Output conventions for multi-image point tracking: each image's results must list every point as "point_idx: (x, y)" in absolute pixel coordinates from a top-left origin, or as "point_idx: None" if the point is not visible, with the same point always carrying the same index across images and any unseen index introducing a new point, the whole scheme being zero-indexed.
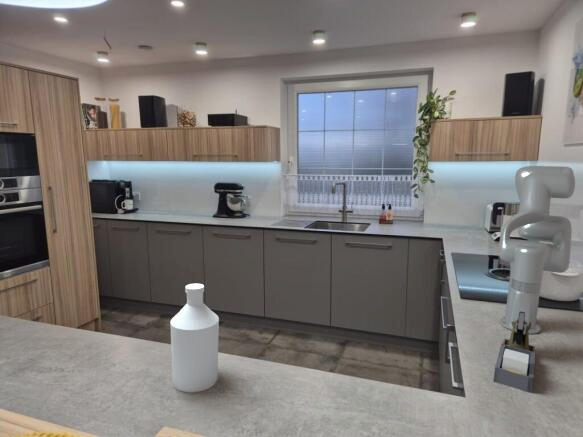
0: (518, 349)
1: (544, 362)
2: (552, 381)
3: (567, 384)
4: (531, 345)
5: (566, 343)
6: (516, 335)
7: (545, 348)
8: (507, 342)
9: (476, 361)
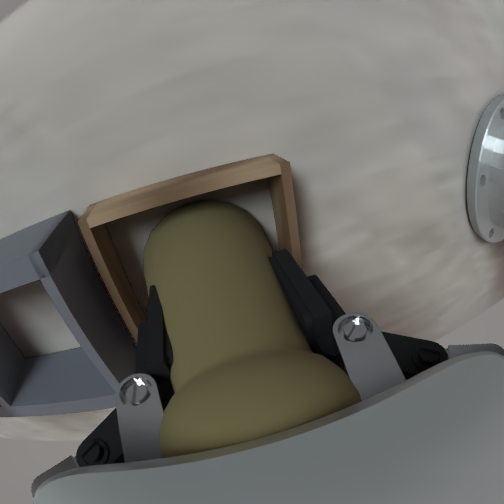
0: (84, 344)
1: None
2: None
3: None
4: None
5: (441, 320)
6: (137, 370)
7: (371, 308)
8: (275, 185)
9: None
